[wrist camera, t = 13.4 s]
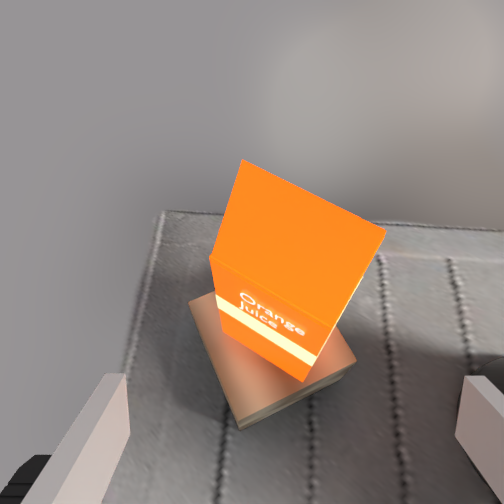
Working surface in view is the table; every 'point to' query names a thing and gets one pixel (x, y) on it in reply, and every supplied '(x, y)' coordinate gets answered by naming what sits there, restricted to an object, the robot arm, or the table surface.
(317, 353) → the orange juice
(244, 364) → the birch block
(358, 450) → the table surface
